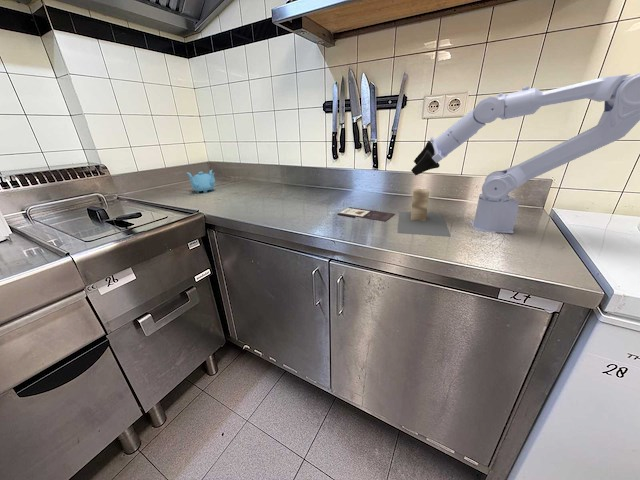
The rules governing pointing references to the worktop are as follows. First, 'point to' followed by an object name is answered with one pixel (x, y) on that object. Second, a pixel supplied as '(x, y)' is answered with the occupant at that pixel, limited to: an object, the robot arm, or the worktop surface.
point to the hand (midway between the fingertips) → (414, 168)
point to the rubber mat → (423, 225)
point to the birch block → (419, 204)
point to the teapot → (202, 181)
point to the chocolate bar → (366, 214)
